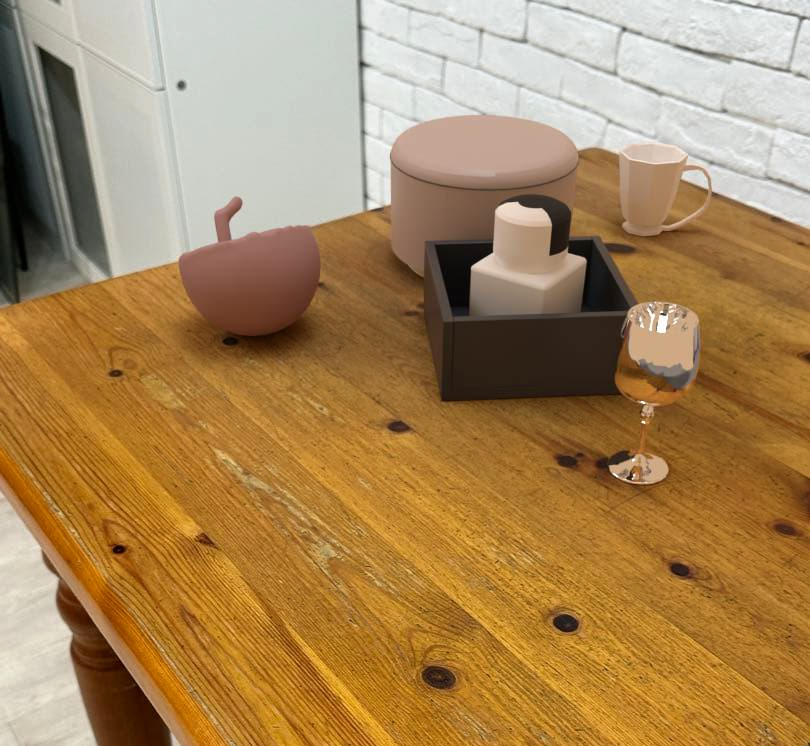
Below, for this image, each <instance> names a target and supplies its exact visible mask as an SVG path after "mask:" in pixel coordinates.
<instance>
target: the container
mask: <svg viewBox="0 0 810 746" xmlns="http://www.w3.org/2000/svg"><path fill="white" fill-rule="evenodd" d="M389 160H390V246H391V249H392V251H393V253H394V255H395V256H396V258H398V259H399V260H400V261H401V262H403V263H404V264H405V265H408V267H409V268H410V270H412V271H413V272H414V273H415V274H417V275H419V276H420V277H422V278H424V249H425V241H439V240H474V239H494V225H495V210H496V208H497V206H498V205H499V204H500V203H501V202H502V201H504V200H506V199H509V198H512V197H515V196H519V195H526V194H537V195H545V196H549V197H552V198H555V199H557V200H559V201H561V202H563V203H565V204H566V205H567V206H568V208H569V209H570V211H571V224H570V234H569V237H571V233H572V224H573V214H574V205H575V195H576V185H577V175H578V166H579V164H580V157H579V153H578V148H577V146H576V144H575V143H574V141H573V140H572V139H571V138H570V137H569V136H568V135H567V134H566V133H564V132H563V131H561V130H559V129H557V128H555V127H553V126H551V125H548V124H545V123H542V122H540V121H539V122H538V121H535V120H530V119H525V118H521V117H516V116H515V117H514V116H508V115H493V114H468V115H467V114H466V115H453V116H446V117H439V118H434V119H430V120H426V121H424V122H423V121H422V122H420V123H417V124H416V125H413V126H411V127H409V128H407V129H406V130H404V131H403V132H402V133H400V134H399V135H398V136H397V137H396V138H395V140H394V142H393V144H392V146H391V150H390V153H389Z"/></svg>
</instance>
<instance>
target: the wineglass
mask: <svg viewBox="0 0 810 746" xmlns="http://www.w3.org/2000/svg"><path fill="white" fill-rule="evenodd" d="M700 361H701V329H700V320H699V317H698V314H697V313H695V311H693V310H691V309H690V308H688V307H685V306H684V305H680V304H677V303H673V302H667V301H647V302H641V303H638V305H635V306H633V307H632V308H631V309H630V310H629V311H628V314H627V316H626V318H625V320H624V322H623V325H622V327H621V330H620V332H619V335H618V338H617V341H616V345H615V349H614V354H613V359H612V373H613V379H614V382H615V384H616V386H617V388H618V389H619V391H620V392H621V393H622V394H621V395H622V396H624V397H625V398H626V399H628V400H629V401H631V402H632V403H635V404H638V405H641V406H640V410H639V413H638V414H639V415H638V416H639V422H640V423H639V425H640V427H639V428H640V429H639V430H640V431H639V436H638V437H639V438H638V443H637V447H636V449H635V448H634V449H633V448H632V449H623V450H620V451H619V450H618V451H617V452H614V453H612V455H610V456H609V458H608V459H607V462H606V466H607V467H606V468H607V469H608V472H609V473H610V474H611V475H613V477H615V478H616V479H618V480H621V481H622V482H625V483H628V484H632V485H642V486H646V485H654V484H657V483H660V482H662V481H664V480H665V479H666V477H667V476H668V475H669V473H670V468H669V465H668V463H667V462H666V460H665V459H664V458H662V456H660V455H658V454H656V453H653V452H651V451H648V450H645V448H646V447H645V446H646V445H645V444H646V440H647V435H648V430H649V428H650V425H651V423H652V422H653V420H654V417H655V408H656V407H664V406H668V405H671V404H674V403H677V402H678V401H680V400H681V399H683V398H685V396H686V395H687V394H688V393H689V392H690V391H691V390H692V388H693V386H694V384H695V381H696V378H697V376H698V373H699V368H700Z"/></svg>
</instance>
